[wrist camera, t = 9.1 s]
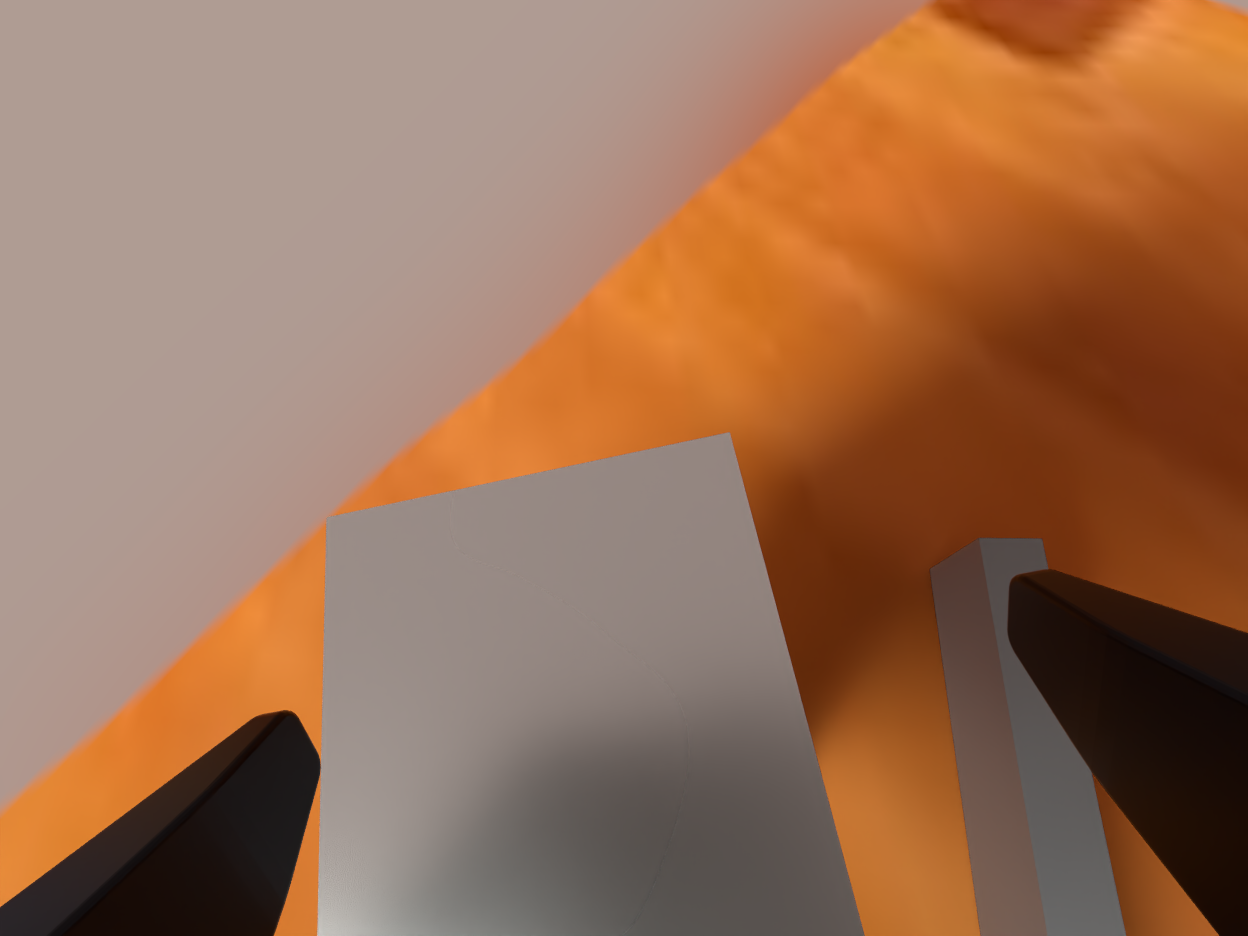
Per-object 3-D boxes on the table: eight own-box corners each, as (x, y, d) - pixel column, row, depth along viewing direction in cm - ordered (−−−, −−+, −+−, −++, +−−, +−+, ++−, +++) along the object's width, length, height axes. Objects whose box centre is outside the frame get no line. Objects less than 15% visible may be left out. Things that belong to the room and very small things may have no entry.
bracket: (711, 656, 15) (730, 431, 3) (752, 842, 13) (1171, 2069, 1) (438, 708, 15) (-566, 705, 3) (447, 895, 14) (-1409, 2228, 2)
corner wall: (980, 569, 15) (1041, 538, 12) (1110, 1333, 10) (1259, 1565, 7) (543, 561, 17) (510, 532, 14) (479, 1224, 12) (409, 1381, 9)
